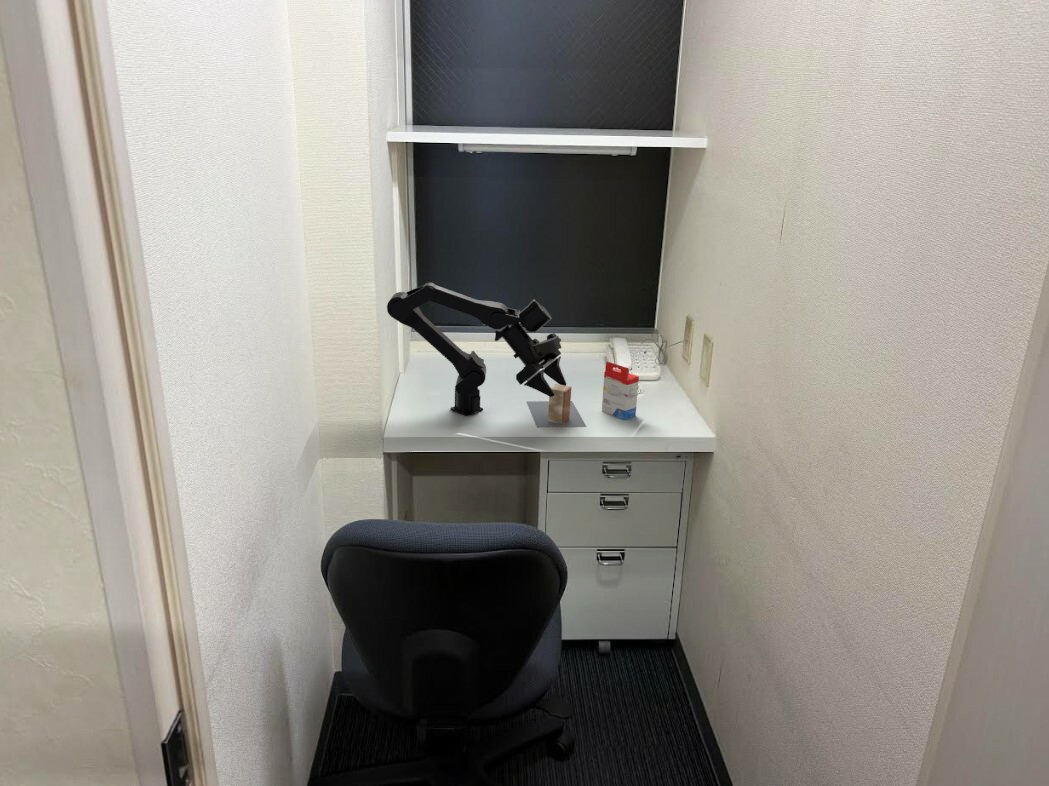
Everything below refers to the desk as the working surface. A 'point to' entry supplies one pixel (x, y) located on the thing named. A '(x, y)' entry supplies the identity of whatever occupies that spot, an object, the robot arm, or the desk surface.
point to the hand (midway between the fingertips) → (559, 390)
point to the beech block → (559, 404)
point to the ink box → (619, 391)
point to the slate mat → (541, 415)
